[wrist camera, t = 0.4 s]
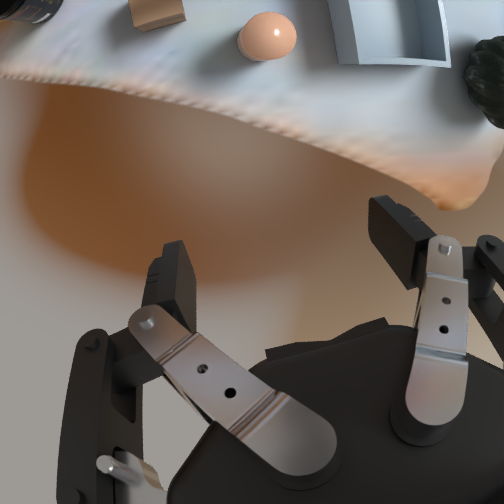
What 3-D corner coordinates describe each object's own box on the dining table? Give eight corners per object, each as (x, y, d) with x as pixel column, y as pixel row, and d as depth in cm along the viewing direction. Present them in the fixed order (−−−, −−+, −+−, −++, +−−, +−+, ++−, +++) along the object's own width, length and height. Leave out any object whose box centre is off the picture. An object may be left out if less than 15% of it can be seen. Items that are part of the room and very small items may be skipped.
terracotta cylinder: (233, 26, 28) (239, 15, 22) (276, 20, 28) (291, 10, 22) (241, 64, 31) (248, 63, 25) (283, 58, 31) (300, 56, 25)
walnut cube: (136, -3, 24) (125, -12, 20) (178, -15, 24) (174, -27, 20) (143, 32, 27) (133, 27, 22) (186, 20, 27) (182, 12, 23)
